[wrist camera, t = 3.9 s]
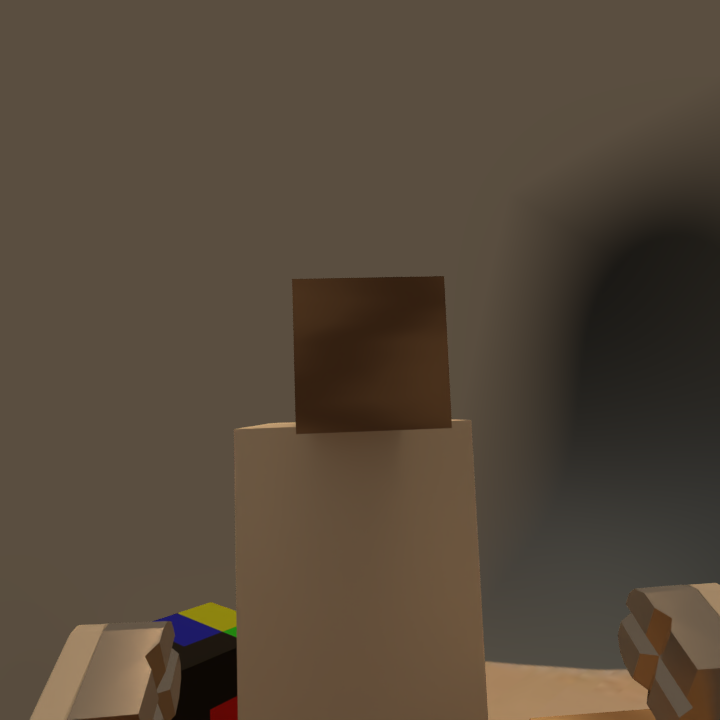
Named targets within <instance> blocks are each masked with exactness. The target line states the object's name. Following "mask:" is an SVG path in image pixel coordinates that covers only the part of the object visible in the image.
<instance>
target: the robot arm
mask: <svg viewBox="0 0 720 720" xmlns="http://www.w3.org/2000/svg"><path fill="white" fill-rule="evenodd" d="M626 605H627V606H628V608H629V609H630V611H631V613H630V614H629V615H628V616H627V617H626V618H625V619H623V620H622V621H621V624H620V628H619V633H618V640H619V647H620V653H621V655H622V658H623V661H624V664H625V666H626V667H627V669H628V671H629V673H630V675H631V677H632V678H633V679H634V680H635V681H637V682H638V683H639V684H641V685H642V686H643V687H645V688H646V689H647V690H648V696H647V705H648V707H649V708H650V710H651V712H652V713H653V715H654V717H655V719H656V720H720V585H719V584H717V583H709V584H694V585H674V586H661V587H650V588H638V589H634V590H632V591H631V592H630V593H629V596H628V599H627V602H626ZM174 637H175V633H174V629H173V625H172V622H171V621H158V622H133V623H109V624H93V625H78V626H77V627H76V628H75V629H74V630H73V632H72V633H71V634H70V635H69V637H68V639H67V641H66V643H65V646H64V648H63V650H62V652H61V654H60V656H59V658H58V660H57V663H56V665H55V667H54V669H53V671H52V673H51V675H50V677H49V680H48V682H47V684H46V686H45V688H44V690H43V692H42V694H41V696H40V699H39V701H38V703H37V705H36V707H35V710H34V711H33V714H32V716H31V718H30V720H171V719H172V718H173V717H174V716H175V714H176V710H177V705H178V700H179V694H180V684H181V663H180V658H179V653H177V652H176V651H175V650H174V649H172V645H173V641H174Z"/></svg>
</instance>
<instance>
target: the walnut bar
mask: <svg viewBox="0 0 720 720" xmlns="http://www.w3.org/2000/svg"><path fill="white" fill-rule="evenodd" d="M292 287H293V327H294V328H293V330H294V371H295V412H296V434H312V433H338V432H364V431H390V430H415V429H441V428H452V421H451V403H450V386H449V385H450V384H449V365H448V345H447V326H446V308H445V288H444V277H443V276H434V277H384V278H383V277H382V278H381V277H380V278H331V279H330V278H328V279H292Z"/></svg>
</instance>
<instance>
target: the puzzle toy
mask: <svg viewBox="0 0 720 720" xmlns="http://www.w3.org/2000/svg"><path fill="white" fill-rule="evenodd" d="M158 621H171V622H172V625H173V629H174V633H175V637H174V641H173V645H172V649H174V650H175V651H176V652H177V653H179V658H180V663H181V684H180V694H179V700H178V705H177V710H176V714H175V716H174V717H173V718H172V719H171V720H238V695H237V620H236V611H234V610H231V609H229V608H226V607H223V606H220V605H217V604H215V603H212V602H210V603H207V604H205V605H201V606H198V607H195V608H192V609H189V610H186V611H183V612H180V613H177V614H174V615H171V616H168V617H165V618H162V619H159V620H156V621H153V622H158Z"/></svg>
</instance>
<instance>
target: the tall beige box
mask: <svg viewBox="0 0 720 720" xmlns="http://www.w3.org/2000/svg"><path fill="white" fill-rule="evenodd" d="M451 421H452V428H441V429H415V430H390V431H364V432H338V433H312V434H296V422H291V423H269V424H264V425H257V426H251V427H245V428H238V429H234V469H235V542H236V620H237V695H238V720H488V710H487V692H486V674H485V657H484V639H483V622H482V606H481V605H482V604H481V586H480V568H479V551H478V533H477V516H476V515H477V514H476V496H475V479H474V462H473V443H472V425H471V420H451Z"/></svg>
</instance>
